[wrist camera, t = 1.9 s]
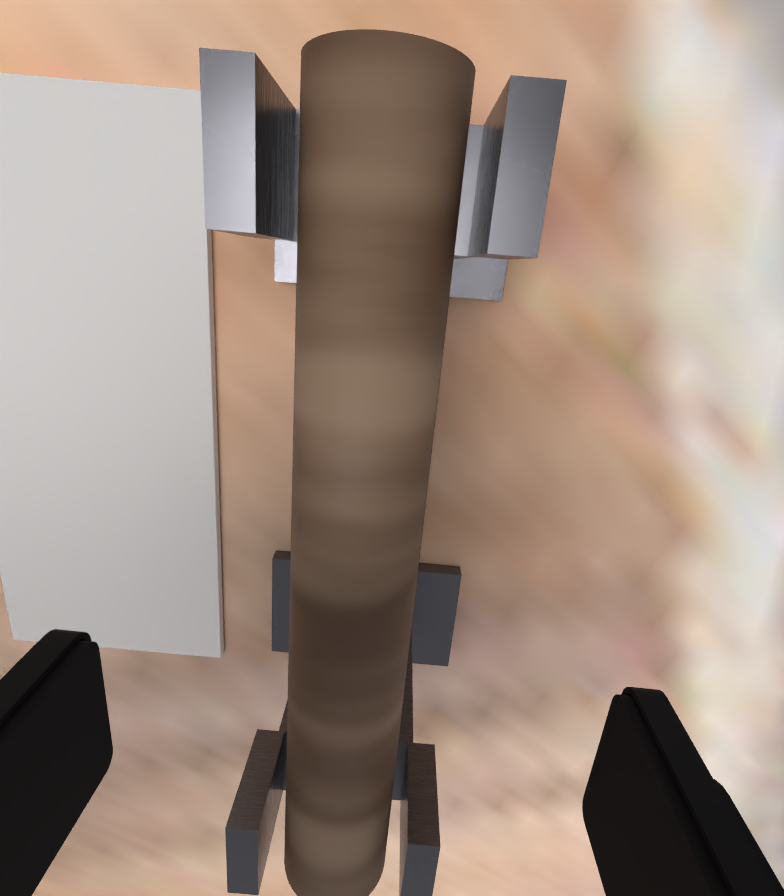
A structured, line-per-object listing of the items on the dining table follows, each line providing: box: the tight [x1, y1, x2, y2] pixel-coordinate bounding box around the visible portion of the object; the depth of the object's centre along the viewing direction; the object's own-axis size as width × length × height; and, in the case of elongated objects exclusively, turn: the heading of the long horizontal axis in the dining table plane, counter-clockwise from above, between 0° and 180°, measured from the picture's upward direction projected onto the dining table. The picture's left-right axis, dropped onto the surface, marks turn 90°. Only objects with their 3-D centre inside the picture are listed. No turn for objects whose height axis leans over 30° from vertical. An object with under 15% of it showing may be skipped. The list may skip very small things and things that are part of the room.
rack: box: [199, 48, 567, 896], centre depth 20 cm, size 26×10×14 cm, turn 175°
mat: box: [0, 73, 224, 658], centre depth 26 cm, size 28×12×1 cm, turn 175°
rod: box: [284, 30, 475, 896], centre depth 15 cm, size 24×4×4 cm, turn 175°
